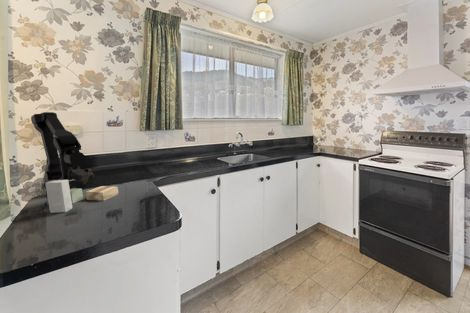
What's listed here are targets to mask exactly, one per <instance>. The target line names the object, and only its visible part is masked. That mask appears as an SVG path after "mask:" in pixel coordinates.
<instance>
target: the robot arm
mask: <svg viewBox="0 0 470 313" xmlns="http://www.w3.org/2000/svg"><path fill="white" fill-rule="evenodd" d="M57 114H58V113H56V112H52V111H43V112H41V113H34V114H33V115H31V116H30V121H31V124H33V127H34V129H35V130H36V131H38V133H39V134H40V137H41V140H42V145H43V148H44V152H45V156H46V157H45V158H46V160H47V163H46V165H45V168H44V174H43V188H44V189H46V185H45V183H46V182H50V181H53V180H68V182H69V183H72V182H74V184H75V188H80V189H82V192H83V191H84V188H85V185H86V183H87V182H89V181H90V180H91V179H94V178H95V175H94V173H93V170H92V168H90V167H87V168H85V169H82V168H81V166H82V165H83V164H85V162H86V159H87V158H86V156H85V154H84V153H83V152H81V150H82V145H81V143H80V141H79V140H78V138H77V137H76V135H75V134H74V133H72V131H69V130H67V129H66V128H65V127H64V125H63V124H62V122H61V121H60V119H59V118H58V115H57Z"/></svg>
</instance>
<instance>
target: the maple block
mask: <svg viewBox="0 0 470 313" xmlns="http://www.w3.org/2000/svg"><path fill="white" fill-rule="evenodd" d="M117 195H119V187H118V186H107V185H101V186H98V187H95V188H92V189H90V190H87V191H85V196H86V200H88V201H89V200H90V201H101V202H102V201H103V202H104V201H106V200H108V199H111V198H114V197H115V196H116V197H117Z"/></svg>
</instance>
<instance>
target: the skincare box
mask: <svg viewBox="0 0 470 313" xmlns="http://www.w3.org/2000/svg"><path fill="white" fill-rule="evenodd" d="M45 185H46V188H45V190H46V197H47V202H48V208H49V213H51V214H55V213H66V212H69V211H70V210H72V209H73V203H72V201H71V195H70V189H71V188H70V182H68V180H53V181H50V182H46V183H45Z"/></svg>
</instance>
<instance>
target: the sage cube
mask: <svg viewBox="0 0 470 313" xmlns="http://www.w3.org/2000/svg"><path fill="white" fill-rule="evenodd" d="M70 195H71V201H72V204H74V203H77V202H80V201H82V200H84V193H83V192H82V189H80V188H76V187H72V188H70Z"/></svg>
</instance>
